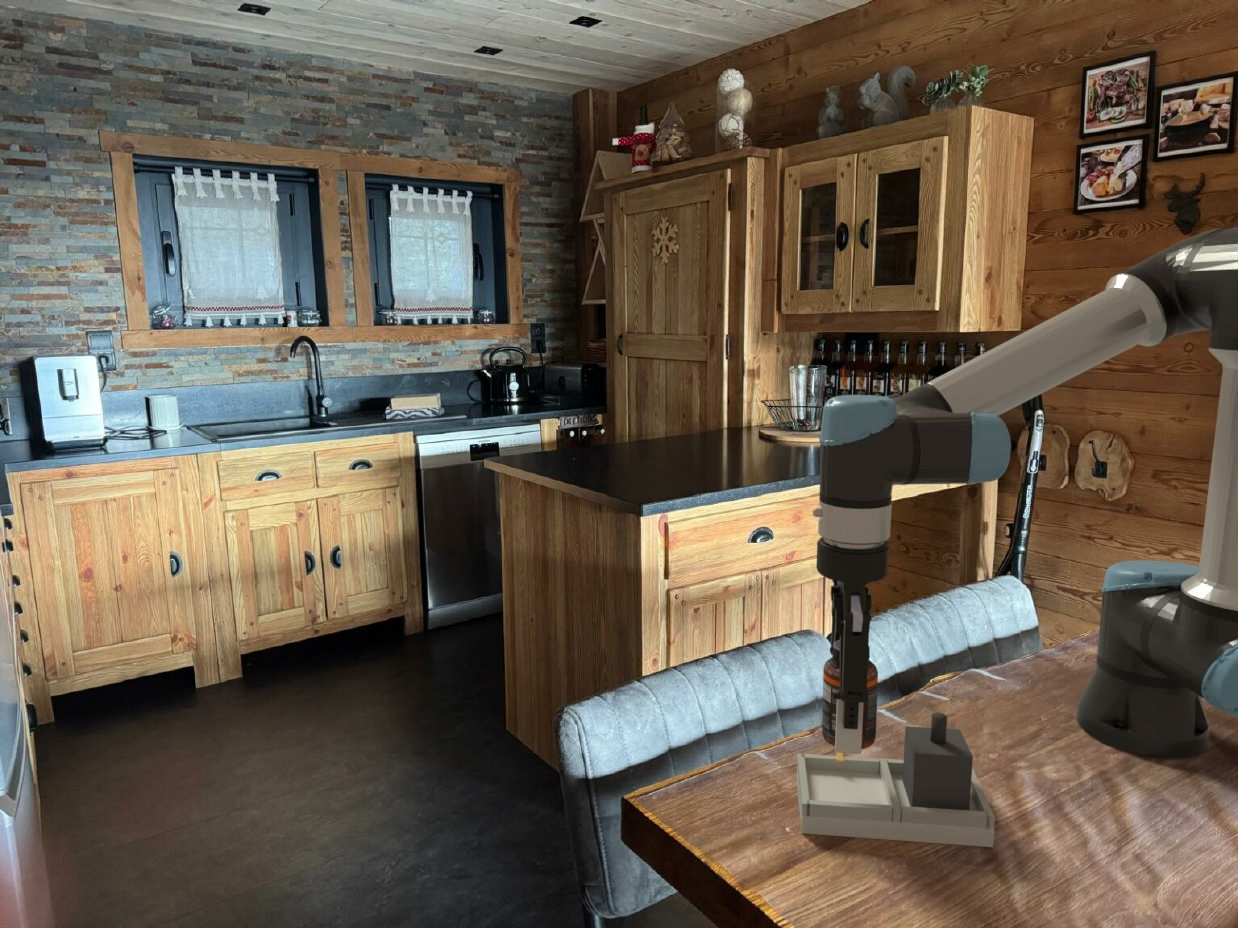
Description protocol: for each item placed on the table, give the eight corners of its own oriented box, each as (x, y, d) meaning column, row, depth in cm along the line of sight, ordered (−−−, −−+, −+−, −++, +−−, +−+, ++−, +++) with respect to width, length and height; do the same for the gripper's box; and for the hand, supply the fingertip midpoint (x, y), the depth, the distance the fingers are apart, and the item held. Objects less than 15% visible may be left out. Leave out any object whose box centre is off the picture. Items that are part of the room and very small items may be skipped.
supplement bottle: (873, 728, 101) (877, 636, 98) (877, 755, 95) (882, 657, 93) (820, 724, 102) (823, 633, 100) (821, 749, 96) (825, 653, 94)
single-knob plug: (956, 784, 101) (961, 704, 99) (969, 815, 95) (974, 730, 93) (902, 781, 102) (906, 702, 100) (911, 811, 96) (916, 727, 94)
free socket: (877, 766, 105) (877, 754, 104) (891, 821, 94) (892, 807, 94) (796, 762, 106) (797, 749, 106) (802, 815, 95) (802, 801, 95)
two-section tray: (967, 787, 104) (969, 759, 103) (993, 847, 93) (995, 815, 92) (796, 777, 107) (797, 749, 106) (801, 833, 95) (802, 802, 95)
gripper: (811, 516, 104) (805, 696, 108) (824, 564, 85) (817, 779, 90) (876, 518, 103) (867, 700, 107) (903, 567, 84) (892, 784, 89)
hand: (844, 735), depth 98 cm, fingers closed on supplement bottle, 6 cm apart
